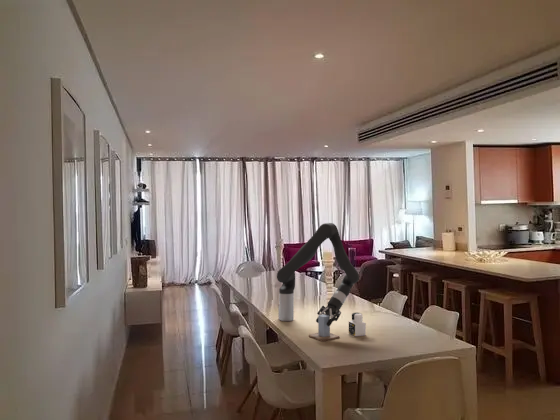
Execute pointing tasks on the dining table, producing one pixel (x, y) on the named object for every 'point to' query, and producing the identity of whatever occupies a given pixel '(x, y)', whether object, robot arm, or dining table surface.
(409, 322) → the dining table surface
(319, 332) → the block
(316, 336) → the board
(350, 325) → the medicine bottle
